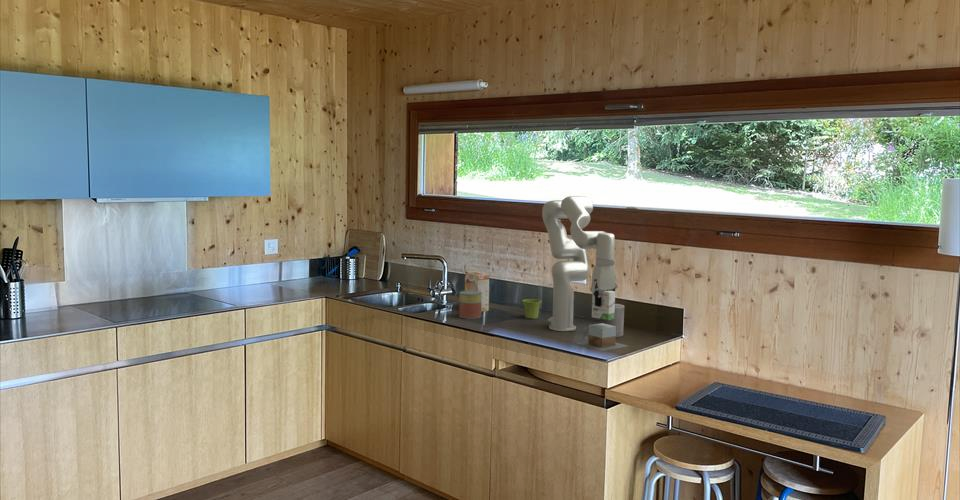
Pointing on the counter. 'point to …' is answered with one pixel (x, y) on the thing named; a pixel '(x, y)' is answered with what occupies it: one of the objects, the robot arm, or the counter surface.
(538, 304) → the plant pot
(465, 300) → the canned food
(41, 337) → the counter surface
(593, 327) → the top slab
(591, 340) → the bottom slab
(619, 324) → the pillar candle
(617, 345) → the mat
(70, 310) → the counter surface
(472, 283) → the coffeecake box
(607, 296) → the ink box
